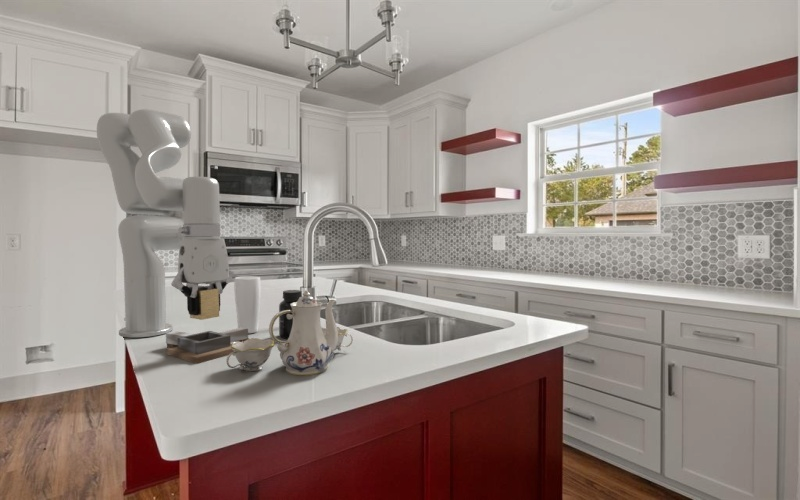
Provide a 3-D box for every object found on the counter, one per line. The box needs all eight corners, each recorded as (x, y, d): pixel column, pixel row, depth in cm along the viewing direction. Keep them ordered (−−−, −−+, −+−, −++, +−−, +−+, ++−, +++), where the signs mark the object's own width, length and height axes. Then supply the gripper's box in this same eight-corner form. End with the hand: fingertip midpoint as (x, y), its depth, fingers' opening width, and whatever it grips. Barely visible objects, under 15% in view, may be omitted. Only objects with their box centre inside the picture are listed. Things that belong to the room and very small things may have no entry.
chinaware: (332, 351, 108) (328, 284, 108) (377, 359, 96) (372, 283, 96) (218, 379, 88) (214, 296, 88) (257, 393, 76) (251, 298, 76)
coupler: (190, 317, 99) (189, 286, 98) (207, 314, 102) (207, 284, 102) (201, 319, 96) (200, 288, 96) (219, 316, 100) (218, 286, 100)
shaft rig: (154, 350, 102) (154, 334, 101) (218, 335, 115) (218, 321, 115) (197, 363, 92) (196, 346, 92) (260, 345, 106) (260, 330, 106)
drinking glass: (253, 335, 116) (252, 279, 115) (229, 334, 117) (229, 278, 116) (265, 329, 122) (265, 276, 121) (243, 328, 124) (243, 275, 123)
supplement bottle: (273, 337, 114) (273, 292, 113) (288, 331, 120) (288, 288, 119) (296, 340, 111) (296, 293, 111) (310, 334, 118) (310, 289, 117)
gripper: (174, 232, 89) (177, 321, 90) (244, 232, 103) (246, 308, 104) (155, 232, 94) (158, 317, 94) (225, 232, 108) (227, 305, 108)
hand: (204, 311), depth 99 cm, fingers closed on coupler, 4 cm apart
